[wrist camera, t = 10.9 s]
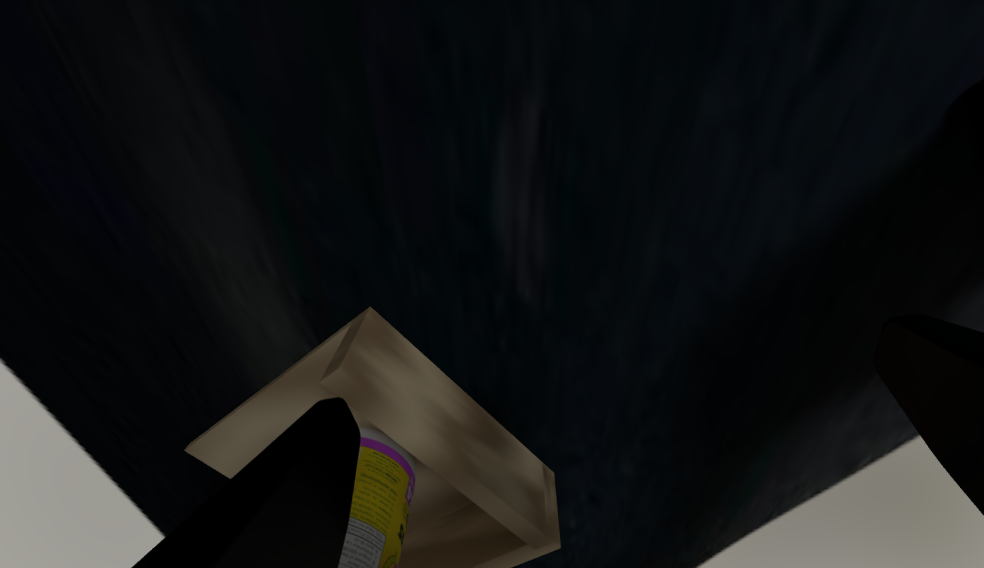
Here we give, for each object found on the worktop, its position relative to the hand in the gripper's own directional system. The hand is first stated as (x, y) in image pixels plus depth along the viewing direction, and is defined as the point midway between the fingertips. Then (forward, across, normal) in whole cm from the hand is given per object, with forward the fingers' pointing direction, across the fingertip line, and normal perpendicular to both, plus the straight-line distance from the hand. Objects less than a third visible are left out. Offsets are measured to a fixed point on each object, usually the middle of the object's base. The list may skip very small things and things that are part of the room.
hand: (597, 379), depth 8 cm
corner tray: (+12, +13, +15) cm, 23 cm away
